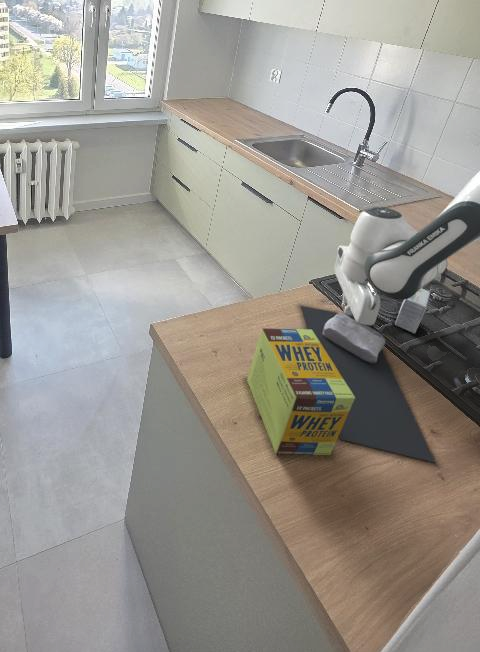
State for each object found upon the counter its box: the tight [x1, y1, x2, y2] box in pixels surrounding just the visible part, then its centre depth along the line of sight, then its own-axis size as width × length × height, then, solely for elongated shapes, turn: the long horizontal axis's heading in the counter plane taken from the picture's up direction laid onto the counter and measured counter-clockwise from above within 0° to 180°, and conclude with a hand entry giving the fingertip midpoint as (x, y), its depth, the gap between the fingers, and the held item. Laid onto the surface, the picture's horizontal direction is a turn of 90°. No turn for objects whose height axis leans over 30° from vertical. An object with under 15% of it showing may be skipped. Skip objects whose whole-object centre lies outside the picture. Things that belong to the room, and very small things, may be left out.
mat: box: [300, 305, 436, 464], centre depth 93 cm, size 16×36×1 cm, turn 166°
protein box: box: [246, 327, 355, 456], centre depth 79 cm, size 10×15×16 cm
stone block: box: [323, 311, 386, 364], centre depth 100 cm, size 12×5×10 cm
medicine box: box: [394, 287, 431, 334], centre depth 106 cm, size 8×4×9 cm, turn 137°
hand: (346, 311), depth 106 cm, fingers closed
